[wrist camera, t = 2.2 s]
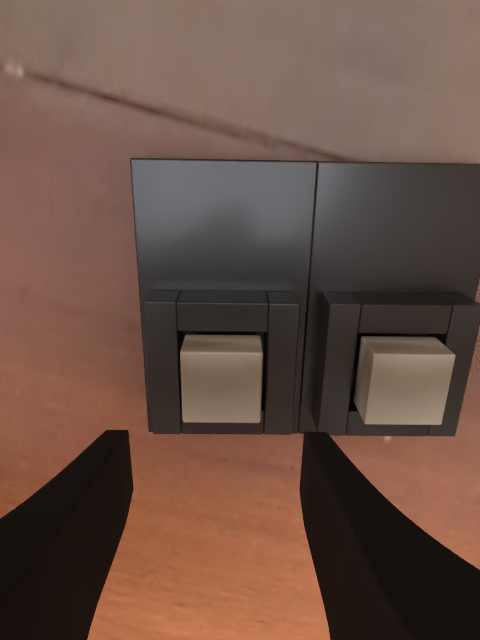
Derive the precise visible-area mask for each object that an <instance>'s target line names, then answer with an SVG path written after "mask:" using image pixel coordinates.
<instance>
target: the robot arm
mask: <svg viewBox="0 0 480 640" xmlns="http://www.w3.org/2000/svg"><path fill="white" fill-rule="evenodd" d="M132 493H133V478H132V467H131V455H130V444H129V433H128V430H106V431H105V432H104V433H103V434H102V435H100V436H99V437H98V438H97V439H96V440H95V441H94V442H93V443H92V444H91V445H90V446H88V447H87V448H86V449H85V450H84V451H83V452H82V453H81V454H80V455H79V456H78V457H77V458H76V459H74V460H73V461H72V462H71V463H70V464H69V465H68V466H67V467H66V468H64V469H63V470H62V471H61V472H60V473H59V474H58V475H57V476H55V477H54V478H53V479H52V480H50V481H49V482H48V483H47V484H46V485H44V486H43V487H42V488H41V489H39V490H38V491H37V492H36V493H35V494H33V495H32V496H31V497H30V498H28V499H27V500H26V501H24V502H23V503H22V504H20V505H19V506H18V507H16V508H15V509H14V510H12V511H11V512H9V513H8V514H7V515H5V516H4V517H2V518H1V519H0V640H87V638H88V634H89V630H90V627H91V623H92V620H93V617H94V613H95V610H96V607H97V604H98V601H99V598H100V596H101V593H102V590H103V587H104V584H105V581H106V579H107V576H108V573H109V570H110V567H111V565H112V562H113V559H114V556H115V553H116V550H117V548H118V545H119V542H120V539H121V536H122V533H123V530H124V527H125V524H126V520H127V516H128V512H129V508H130V503H131V498H132ZM300 497H301V506H302V513H303V520H304V526H305V531H306V535H307V539H308V543H309V547H310V551H311V555H312V559H313V563H314V567H315V571H316V575H317V579H318V583H319V587H320V591H321V595H322V599H323V603H324V607H325V612H326V617H327V621H328V626H329V633H330V639H331V640H480V570H479V569H477V568H476V567H474V566H473V565H471V564H470V563H468V562H467V561H465V560H464V559H462V558H461V557H459V556H458V555H456V554H455V553H453V552H452V551H451V550H449V549H448V548H446V547H445V546H444V545H442V544H441V543H439V542H438V541H437V540H435V539H434V538H433V537H431V536H430V535H429V534H427V533H426V532H425V531H423V530H422V529H421V528H420V527H419V526H417V525H416V524H415V523H414V522H412V521H411V520H410V519H409V518H408V517H406V516H405V515H404V514H403V513H402V512H400V511H399V510H398V509H397V508H396V507H395V506H394V505H393V504H392V503H391V502H389V501H388V500H387V499H386V498H385V497H384V496H383V495H382V494H381V493H380V492H379V491H378V490H377V489H376V488H375V487H374V486H373V485H372V484H371V483H370V482H369V481H368V479H367V478H366V477H365V476H364V475H363V474H362V473H361V472H360V471H359V470H358V469H357V468H356V466H355V465H354V464H353V463H352V462H351V461H350V460H349V458H348V457H347V456H346V455H345V454H344V453H343V451H342V450H341V449H340V448H339V447H338V445H337V444H336V443H335V442H334V441H333V439H332V438H331V437H330V436H329V435H328V434H327V433H326V432H304V441H303V453H302V466H301V479H300Z"/></svg>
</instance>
